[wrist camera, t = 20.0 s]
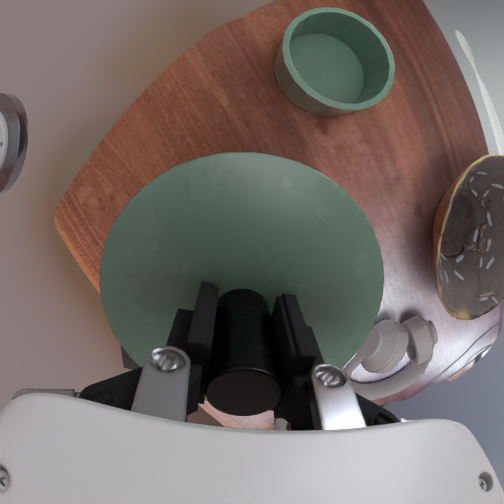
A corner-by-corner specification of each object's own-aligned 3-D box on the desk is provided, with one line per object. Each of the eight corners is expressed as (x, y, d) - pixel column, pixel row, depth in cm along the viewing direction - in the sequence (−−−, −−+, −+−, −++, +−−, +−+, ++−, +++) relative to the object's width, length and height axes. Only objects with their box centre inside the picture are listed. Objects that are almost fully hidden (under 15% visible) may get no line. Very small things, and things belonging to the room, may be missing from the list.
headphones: (351, 312, 41) (328, 385, 51) (367, 349, 34) (337, 417, 44) (440, 300, 41) (405, 371, 51) (461, 329, 35) (417, 398, 44)
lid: (114, 376, 14) (87, 444, 9) (109, 134, 10) (26, 135, 5) (328, 402, 16) (348, 470, 11) (413, 193, 11) (496, 228, 6)
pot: (266, 103, 31) (273, 92, 24) (282, 21, 26) (291, -5, 19) (360, 127, 32) (387, 125, 25) (371, 47, 28) (397, 31, 21)
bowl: (496, 262, 40) (527, 283, 31) (406, 312, 43) (434, 346, 33) (490, 137, 32) (531, 143, 22) (385, 165, 34) (428, 175, 24)
